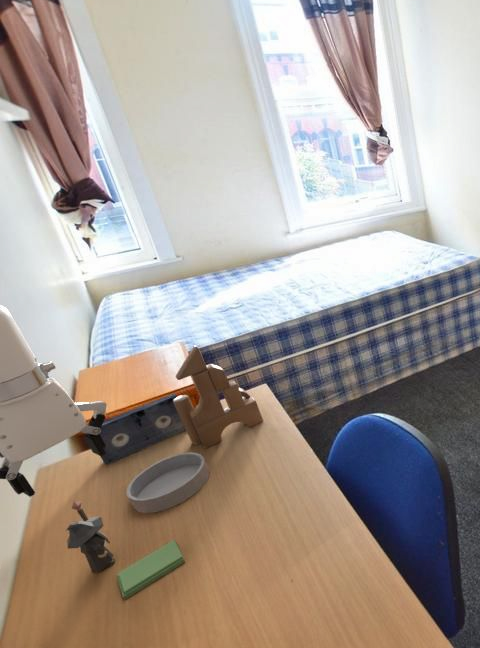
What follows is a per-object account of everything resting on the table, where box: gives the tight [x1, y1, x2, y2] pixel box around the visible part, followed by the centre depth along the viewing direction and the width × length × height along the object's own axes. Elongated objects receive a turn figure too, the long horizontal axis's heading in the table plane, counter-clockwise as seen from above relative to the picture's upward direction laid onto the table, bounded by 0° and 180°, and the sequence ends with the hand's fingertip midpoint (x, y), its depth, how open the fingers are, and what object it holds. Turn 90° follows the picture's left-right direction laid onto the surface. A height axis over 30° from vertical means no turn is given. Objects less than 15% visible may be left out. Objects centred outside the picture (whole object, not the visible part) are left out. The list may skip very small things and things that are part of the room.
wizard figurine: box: [65, 500, 116, 574], centre depth 83 cm, size 8×6×12 cm
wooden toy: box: [173, 344, 264, 449], centre depth 115 cm, size 16×7×25 cm, turn 136°
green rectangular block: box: [116, 539, 186, 600], centre depth 83 cm, size 9×6×1 cm, turn 137°
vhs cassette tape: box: [99, 393, 186, 466], centre depth 116 cm, size 18×3×10 cm, turn 133°
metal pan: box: [125, 452, 210, 514], centre depth 102 cm, size 14×14×4 cm
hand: (66, 472), depth 77 cm, fingers open, 9 cm apart
